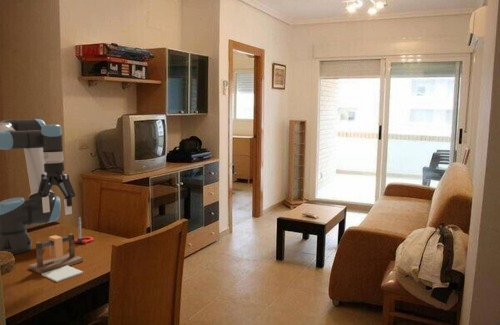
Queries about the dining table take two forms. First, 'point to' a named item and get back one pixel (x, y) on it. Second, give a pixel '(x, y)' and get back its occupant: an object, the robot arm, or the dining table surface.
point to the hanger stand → (54, 262)
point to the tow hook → (80, 238)
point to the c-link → (56, 246)
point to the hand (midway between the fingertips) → (57, 213)
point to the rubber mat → (62, 273)
